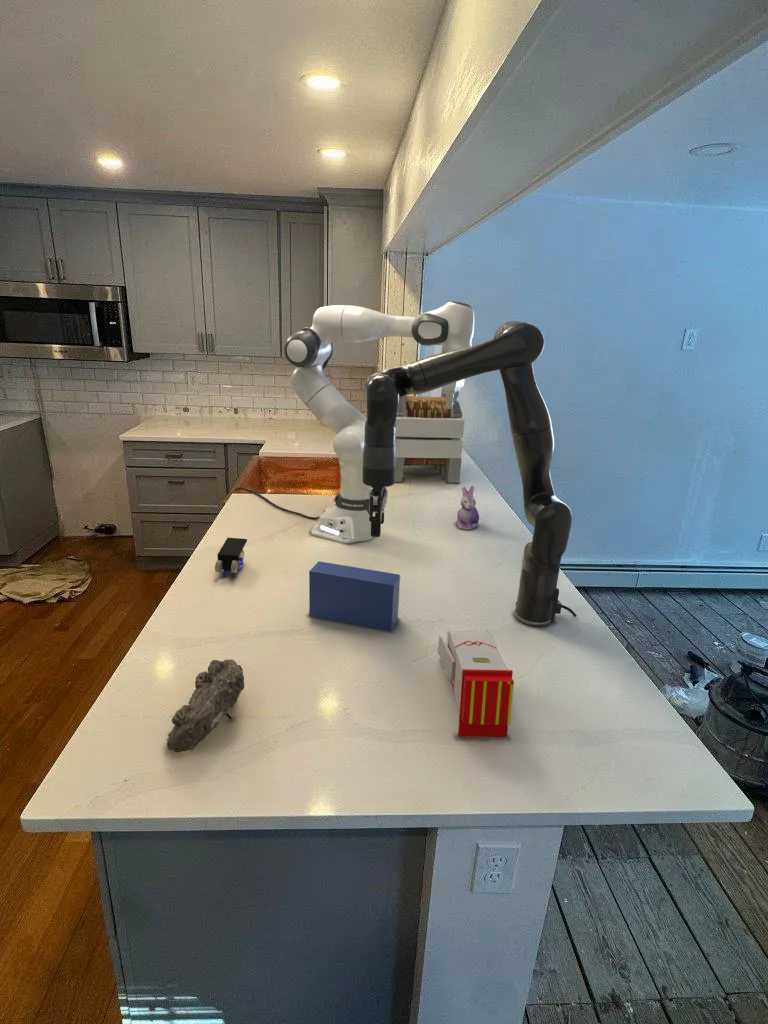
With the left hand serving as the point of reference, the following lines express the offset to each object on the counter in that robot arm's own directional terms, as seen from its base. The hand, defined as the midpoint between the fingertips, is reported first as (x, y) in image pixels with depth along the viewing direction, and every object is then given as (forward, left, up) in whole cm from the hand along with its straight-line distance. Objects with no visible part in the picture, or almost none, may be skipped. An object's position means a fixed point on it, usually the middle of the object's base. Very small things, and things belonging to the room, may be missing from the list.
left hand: (451, 405), depth 174 cm
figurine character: (-55, -40, -47) cm, 83 cm away
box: (-12, -53, -47) cm, 72 cm away
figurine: (+6, +24, -47) cm, 53 cm away
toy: (+20, -73, -47) cm, 90 cm away
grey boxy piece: (-26, +86, -47) cm, 102 cm away
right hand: (-7, -54, -22) cm, 59 cm away
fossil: (-26, -97, -47) cm, 111 cm away
